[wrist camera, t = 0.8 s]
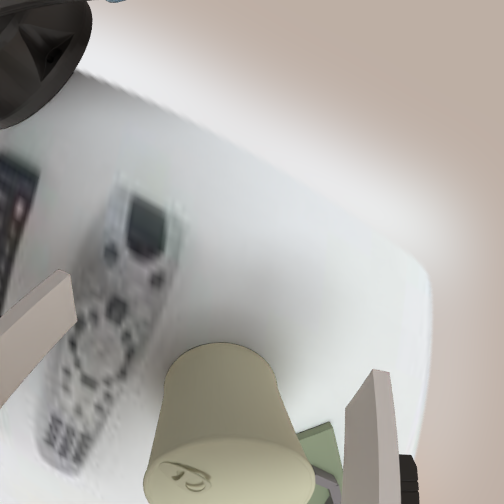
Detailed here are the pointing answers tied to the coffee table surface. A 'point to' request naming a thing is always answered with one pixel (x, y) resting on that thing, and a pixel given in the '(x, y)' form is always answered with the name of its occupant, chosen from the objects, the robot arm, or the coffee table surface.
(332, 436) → the deck mount
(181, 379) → the can
